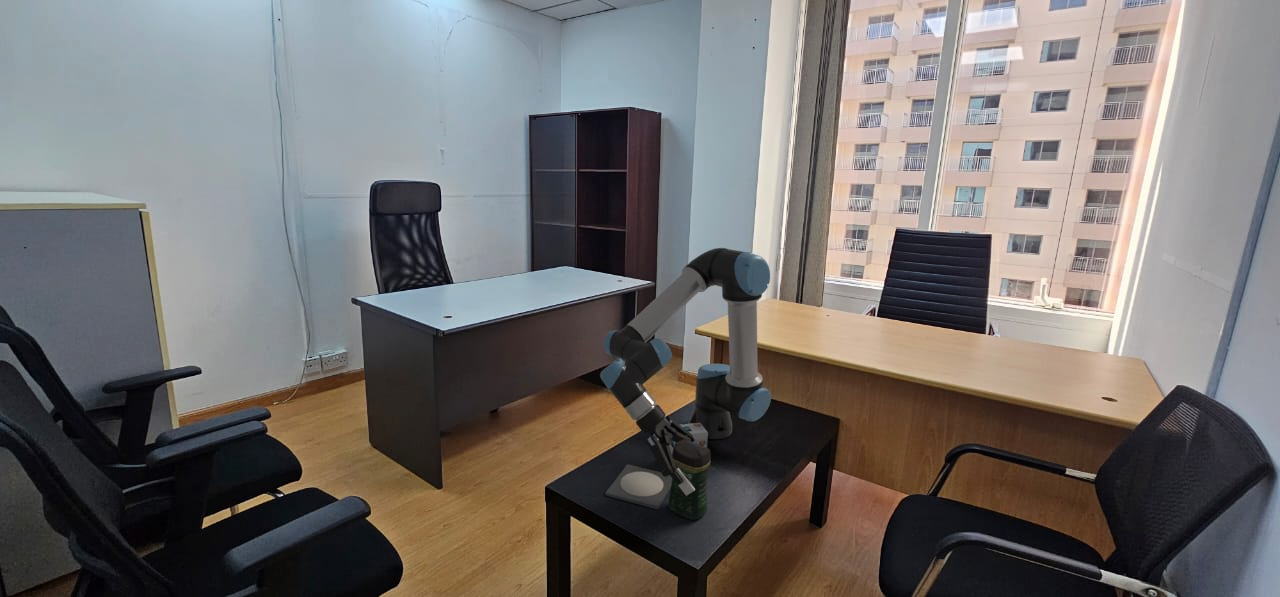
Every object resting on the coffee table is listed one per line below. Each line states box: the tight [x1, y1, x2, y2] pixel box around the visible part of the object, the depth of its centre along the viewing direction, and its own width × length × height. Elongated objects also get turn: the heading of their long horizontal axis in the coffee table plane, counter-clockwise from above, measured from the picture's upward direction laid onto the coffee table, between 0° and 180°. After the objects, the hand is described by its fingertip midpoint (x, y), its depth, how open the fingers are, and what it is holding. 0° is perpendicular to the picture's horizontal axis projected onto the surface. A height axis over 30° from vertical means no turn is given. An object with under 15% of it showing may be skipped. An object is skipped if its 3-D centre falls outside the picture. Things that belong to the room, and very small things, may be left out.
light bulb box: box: [669, 423, 708, 454], centre depth 161 cm, size 11×7×11 cm, turn 105°
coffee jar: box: [668, 439, 712, 521], centre depth 136 cm, size 10×8×19 cm
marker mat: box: [605, 464, 672, 510], centre depth 147 cm, size 16×15×1 cm
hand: (697, 478), depth 135 cm, fingers open, 13 cm apart
